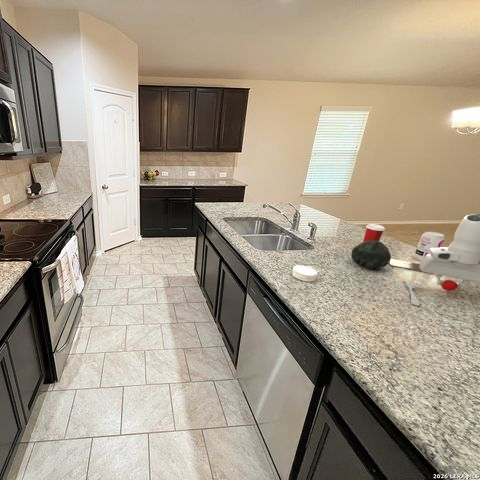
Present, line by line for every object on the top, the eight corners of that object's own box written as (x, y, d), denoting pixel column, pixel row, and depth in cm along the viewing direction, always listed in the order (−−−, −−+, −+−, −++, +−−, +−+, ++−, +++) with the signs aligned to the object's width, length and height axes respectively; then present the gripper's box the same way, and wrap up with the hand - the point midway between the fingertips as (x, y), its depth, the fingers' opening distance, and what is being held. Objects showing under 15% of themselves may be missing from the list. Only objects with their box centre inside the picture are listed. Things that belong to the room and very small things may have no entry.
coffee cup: (374, 248, 148) (382, 224, 143) (378, 254, 141) (387, 229, 136) (357, 246, 152) (364, 222, 146) (360, 251, 145) (368, 226, 139)
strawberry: (452, 289, 104) (456, 279, 103) (456, 294, 101) (461, 284, 99) (437, 286, 106) (441, 276, 105) (440, 290, 103) (445, 281, 101)
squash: (361, 246, 137) (360, 231, 127) (395, 257, 126) (398, 241, 116) (346, 266, 135) (345, 252, 125) (380, 279, 124) (382, 265, 114)
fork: (408, 308, 99) (411, 303, 98) (402, 281, 114) (404, 276, 113) (418, 311, 97) (421, 305, 96) (410, 283, 112) (413, 278, 111)
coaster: (319, 283, 112) (321, 276, 110) (295, 280, 114) (296, 273, 112) (311, 272, 121) (313, 266, 120) (289, 270, 123) (290, 263, 121)
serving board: (428, 266, 128) (428, 265, 128) (433, 274, 120) (434, 273, 120) (387, 258, 136) (387, 257, 136) (390, 265, 128) (390, 264, 128)
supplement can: (436, 261, 134) (448, 234, 128) (431, 264, 130) (443, 237, 124) (415, 255, 140) (426, 230, 135) (410, 258, 136) (421, 232, 131)
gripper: (499, 258, 95) (482, 290, 100) (425, 247, 106) (413, 276, 111) (508, 265, 90) (490, 297, 95) (429, 252, 101) (416, 282, 106)
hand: (448, 286), depth 103 cm, fingers closed on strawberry, 4 cm apart
